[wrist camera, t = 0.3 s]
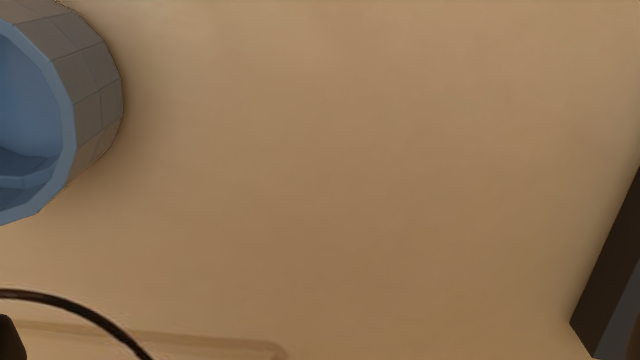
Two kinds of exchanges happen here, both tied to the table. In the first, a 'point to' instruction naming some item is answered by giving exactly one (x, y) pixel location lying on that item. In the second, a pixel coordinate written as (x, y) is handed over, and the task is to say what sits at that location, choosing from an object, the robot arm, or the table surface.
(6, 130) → the bowl
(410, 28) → the table surface
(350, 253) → the table surface
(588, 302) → the scale
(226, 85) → the table surface
